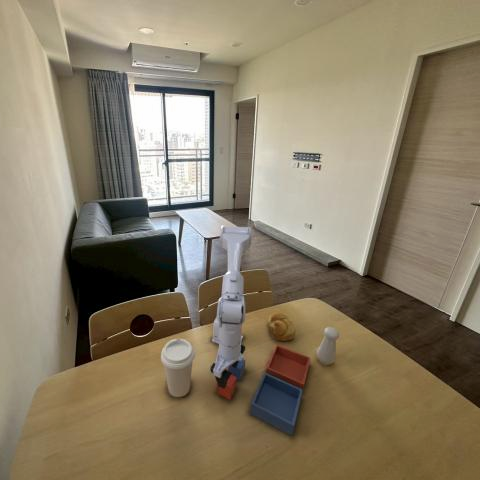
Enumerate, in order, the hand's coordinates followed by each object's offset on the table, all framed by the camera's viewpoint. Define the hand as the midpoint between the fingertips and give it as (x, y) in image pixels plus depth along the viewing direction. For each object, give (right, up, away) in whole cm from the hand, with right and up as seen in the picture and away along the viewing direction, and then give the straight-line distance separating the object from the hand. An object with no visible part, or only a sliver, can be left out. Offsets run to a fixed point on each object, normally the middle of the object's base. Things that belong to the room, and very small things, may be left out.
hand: (227, 375), depth 72 cm
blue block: (+3, -4, +8) cm, 10 cm away
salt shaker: (+34, -2, +13) cm, 37 cm away
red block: (0, -6, +3) cm, 6 cm away
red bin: (+20, -4, +9) cm, 22 cm away
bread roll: (+22, +3, +26) cm, 34 cm away
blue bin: (+14, -8, -1) cm, 16 cm away
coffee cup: (-14, -5, +4) cm, 16 cm away
